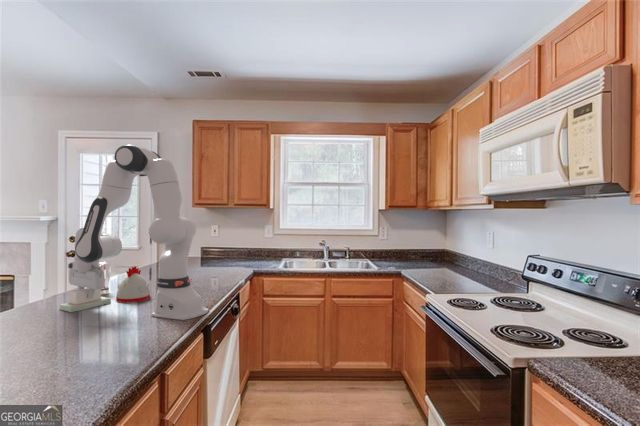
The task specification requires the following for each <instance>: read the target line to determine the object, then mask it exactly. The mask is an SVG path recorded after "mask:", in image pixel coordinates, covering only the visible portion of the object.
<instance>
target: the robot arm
mask: <svg viewBox="0 0 640 426" xmlns="http://www.w3.org/2000/svg"><path fill="white" fill-rule="evenodd" d="M137 176H139V177H146V176H147V179H148V182H149V188H150V192H151V197H152V204H153V214H152V216H153V217H152V222H151V223H150V226H149V228H148V235H149V238H150V240H152V241H153V243H156V244H159V245H164V248H163V251H162V253H161V254H160V256H159V258H158V277H157V279H156V285H157V292H156V293H155V298H154V306H153V311H152V312H151V317H154V318H155V317H156V318H164V319H172V320H180V321H181V320H182V321H183V320H191V319H195V318H197V317H201V316H203V315H205V314H207V313H209V308H208V307H205V306H203V305H204V304H203V298H202V296H201V295H200V294H199V293H198V292H197V291H196V290H195V289H194V288H193V287H192V286H191V283H192V282H193V279H192V278H189V275H188V268H189V266H188V265H189V253H190V249H191V246H192V242H193V238H194V236H195V235H196V233H197V226H196V223H195V222H194V221H193V220H192V219H191V218H187V217H184V216H181V215H180V213H181V205H182V203H183V197H182V192H181V188H180V184H179V180H178V178H179V177H178V176H177V172H176V170H175V167H174V165H173V163H172V162H171V161H170V160H168V159H166V158H162V156H160V155H159V154H158V153H156V152H155V151H151V150H149V149H147V148H145V147H141V146H137V145H134V144H125V145H121V146H119V147H118V148H117V149H116V150H115V153H114V160H111V161H110V162H108V164H107V166H106V168H105V170H104V173H103V176H102V181H101V186H100V189H99V192H98V194H97V196H96V198H95V199H94V200H93V202H92V203H91V204H90V205H91V206H90V207H89V211H88V213H87V217H86V220H85V222H84V226H83V227H82V228H79V229H78V230H77V231H76V233H75V238H74V251H75V252H74V253H75V255H74V260H73V261H70V262H69V263H68V264H67V268H68V282H69V285H71V286H72V285H73V286H76V287H77V290H80V289H85V288H88V290H89V293H88V294H87V298H89V299H90V298H93V294H94V292H95V290H97V289H102V288H104V286H105V279H104V272H103V271H102V270H101V268H100V267H99V262H100V260H104V259H109V258H113V257H115V256H118V255H119V254H120V253H121V252H122V248H123V245H122V241H121V239H120V237H119V236H116V235H112V234H109V233H106V232H104V231H103V228H104V224H105V221H106V218H107V217H108V216H109V215H110V214H111V213H112V212H114V211H116V210H118V209H119V208H123V207H124V206H125V205H126V204H128V202H129V200H130V199H131V194H132V191H133V189H132V188H133V183H134V180H135V178H136V177H137Z"/></svg>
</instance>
